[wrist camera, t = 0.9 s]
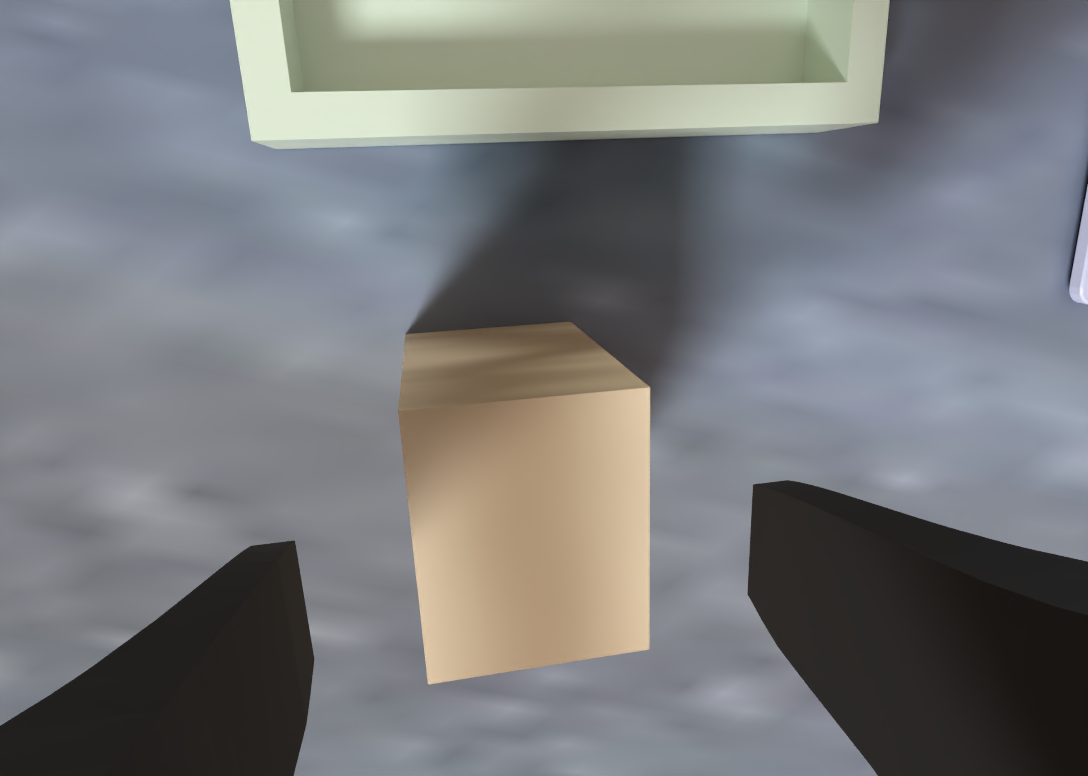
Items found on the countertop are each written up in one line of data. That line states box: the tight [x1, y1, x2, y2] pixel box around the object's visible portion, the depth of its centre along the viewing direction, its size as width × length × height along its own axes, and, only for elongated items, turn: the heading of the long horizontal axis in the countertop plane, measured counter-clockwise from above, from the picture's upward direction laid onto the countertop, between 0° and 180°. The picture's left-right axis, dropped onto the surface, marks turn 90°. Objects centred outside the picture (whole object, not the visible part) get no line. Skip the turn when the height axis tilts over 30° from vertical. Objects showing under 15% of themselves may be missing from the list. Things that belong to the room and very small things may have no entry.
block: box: [398, 322, 650, 684], centre depth 14 cm, size 4×5×6 cm
